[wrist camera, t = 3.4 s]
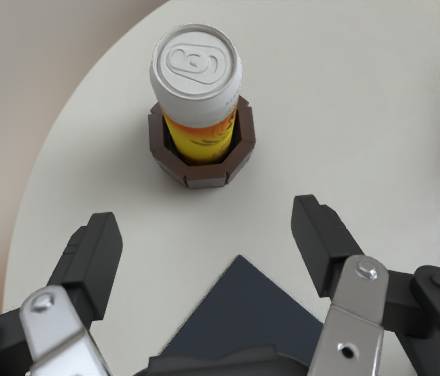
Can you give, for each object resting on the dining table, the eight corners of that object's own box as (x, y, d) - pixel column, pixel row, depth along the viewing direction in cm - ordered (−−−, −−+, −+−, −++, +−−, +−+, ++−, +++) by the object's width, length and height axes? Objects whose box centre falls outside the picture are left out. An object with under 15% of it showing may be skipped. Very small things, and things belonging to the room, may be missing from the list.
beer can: (223, 174, 31) (232, 115, 16) (170, 162, 31) (133, 93, 16) (234, 125, 32) (253, 28, 17) (184, 113, 32) (160, 7, 18)
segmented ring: (208, 207, 30) (208, 201, 26) (138, 148, 31) (126, 134, 27) (266, 138, 32) (275, 122, 28) (198, 85, 33) (195, 61, 29)
